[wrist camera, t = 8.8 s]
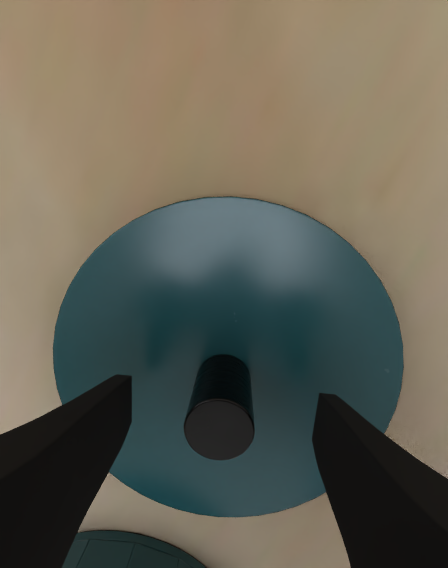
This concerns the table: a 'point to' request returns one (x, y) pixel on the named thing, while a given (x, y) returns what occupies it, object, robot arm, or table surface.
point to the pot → (125, 552)
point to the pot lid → (228, 349)
